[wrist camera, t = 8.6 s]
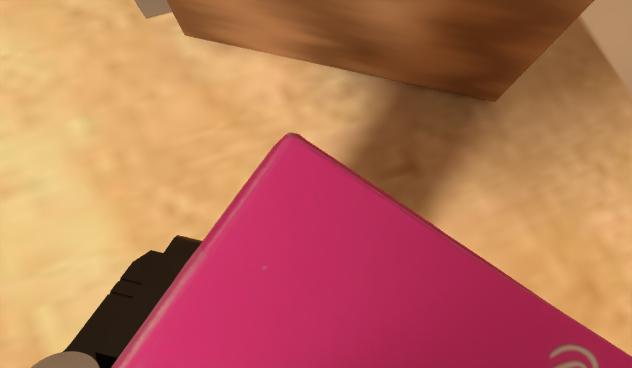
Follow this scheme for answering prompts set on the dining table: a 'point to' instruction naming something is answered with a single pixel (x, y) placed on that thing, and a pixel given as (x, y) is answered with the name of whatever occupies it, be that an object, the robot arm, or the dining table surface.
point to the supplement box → (347, 287)
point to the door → (393, 36)
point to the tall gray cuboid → (153, 7)
